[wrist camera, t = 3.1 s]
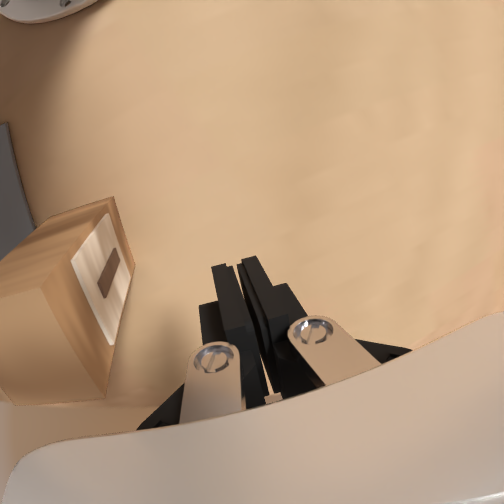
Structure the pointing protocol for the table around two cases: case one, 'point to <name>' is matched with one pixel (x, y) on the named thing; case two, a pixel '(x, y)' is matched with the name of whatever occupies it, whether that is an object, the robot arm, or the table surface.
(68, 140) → the table surface
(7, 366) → the cardboard box
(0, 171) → the charcoal mat
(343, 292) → the table surface
